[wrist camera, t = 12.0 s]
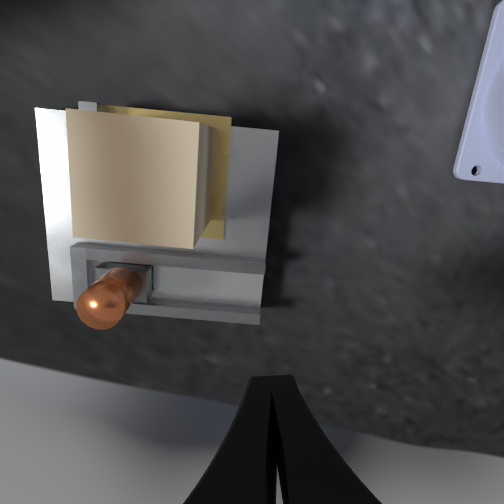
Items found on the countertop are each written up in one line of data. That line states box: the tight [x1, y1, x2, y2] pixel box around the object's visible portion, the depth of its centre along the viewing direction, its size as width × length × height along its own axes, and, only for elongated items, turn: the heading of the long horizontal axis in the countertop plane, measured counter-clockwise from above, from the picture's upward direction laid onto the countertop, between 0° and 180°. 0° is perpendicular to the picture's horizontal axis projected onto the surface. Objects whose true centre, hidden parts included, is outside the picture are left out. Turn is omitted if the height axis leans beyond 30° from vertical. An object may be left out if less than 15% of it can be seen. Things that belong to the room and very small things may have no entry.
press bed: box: [35, 101, 279, 325], centre depth 18 cm, size 12×10×2 cm
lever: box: [76, 262, 152, 330], centre depth 17 cm, size 3×2×4 cm
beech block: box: [65, 108, 216, 249], centre depth 15 cm, size 4×4×5 cm
